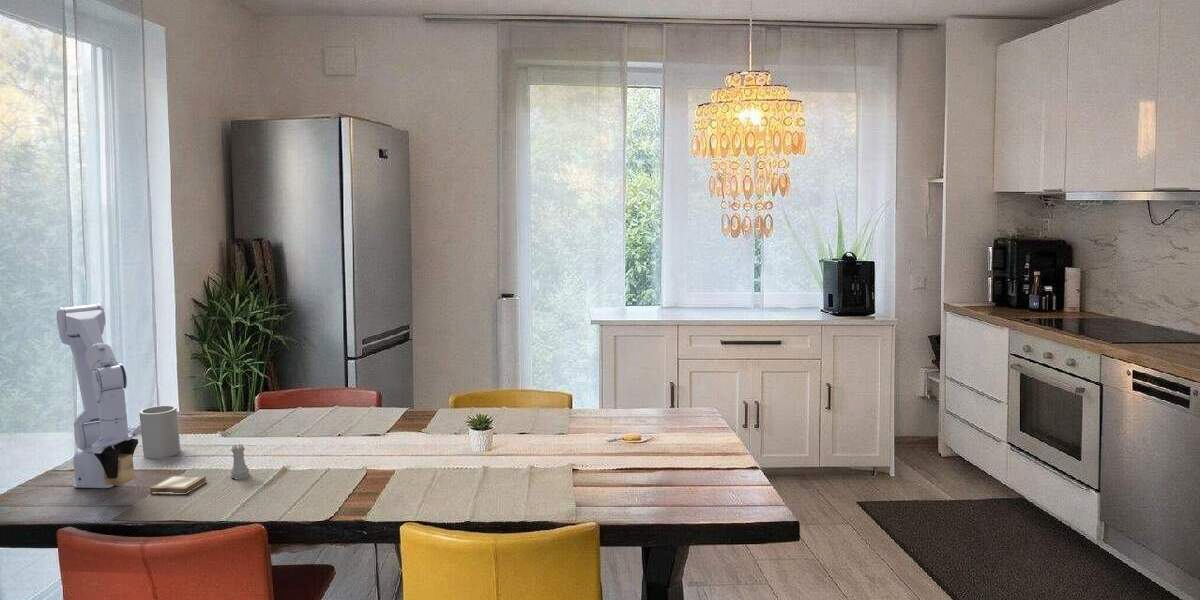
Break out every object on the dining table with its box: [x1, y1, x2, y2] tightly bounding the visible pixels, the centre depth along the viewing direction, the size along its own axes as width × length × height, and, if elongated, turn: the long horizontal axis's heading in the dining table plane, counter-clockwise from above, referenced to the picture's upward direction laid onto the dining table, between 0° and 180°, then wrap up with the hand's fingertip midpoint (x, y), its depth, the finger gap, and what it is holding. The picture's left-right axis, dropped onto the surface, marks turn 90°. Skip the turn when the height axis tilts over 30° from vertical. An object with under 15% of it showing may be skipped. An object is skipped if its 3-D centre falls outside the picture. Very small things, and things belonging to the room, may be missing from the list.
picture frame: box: [149, 475, 207, 494], centre depth 243 cm, size 9×9×2 cm
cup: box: [138, 404, 181, 459], centre depth 272 cm, size 9×9×12 cm
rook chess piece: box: [230, 443, 250, 480], centre depth 250 cm, size 4×4×8 cm
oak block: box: [103, 454, 136, 486], centre depth 235 cm, size 4×4×6 cm
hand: (119, 474), depth 235 cm, fingers closed on oak block, 4 cm apart
